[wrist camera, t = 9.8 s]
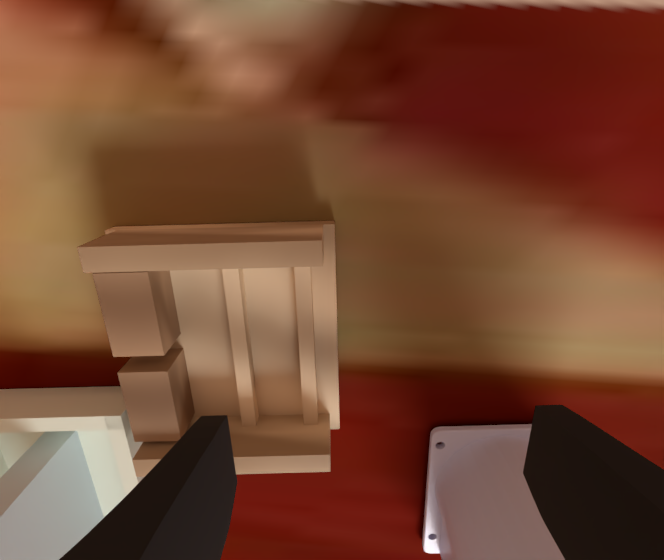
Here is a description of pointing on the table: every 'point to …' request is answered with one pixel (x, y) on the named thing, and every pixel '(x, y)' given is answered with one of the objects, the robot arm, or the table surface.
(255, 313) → the rack
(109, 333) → the offcut
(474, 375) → the table surface
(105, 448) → the tray
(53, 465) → the block
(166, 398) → the offcut
